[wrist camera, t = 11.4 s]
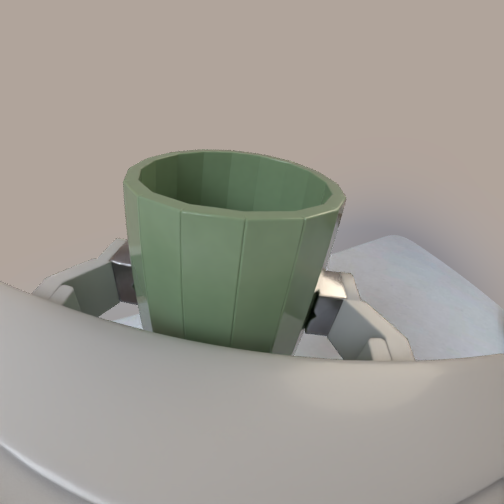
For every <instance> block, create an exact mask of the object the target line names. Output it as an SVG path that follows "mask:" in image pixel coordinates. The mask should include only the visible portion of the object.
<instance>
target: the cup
mask: <svg viewBox="0 0 504 504" xmlns="http://www.w3.org/2000/svg"><path fill="white" fill-rule="evenodd" d="M123 187H124V204H125V217H126V227H127V236H128V245H129V253H130V261H131V268H132V274H133V280H134V286H135V292H136V298H137V303H138V308H139V313H140V318H141V323H142V327H143V330H146V331H150V332H154V333H159V334H163V335H167V336H172V337H177V338H181V339H186V340H191V341H196V342H201V343H207V344H212V345H218V346H224V347H230V348H236V349H243V350H250V351H257V352H264V353H272V354H281V355H290V356H294V355H295V352H296V350H297V347H298V345H299V342H300V340H301V337H302V334H303V332H304V329H305V326H306V324H307V321H308V318H309V316H310V313H311V310H312V307H313V304H314V302H315V299H316V296H317V293H318V290H319V287H320V284H321V281H322V278H323V275H324V272H325V269H326V266H327V263H328V260H329V257H330V254H331V250H332V247H333V244H334V241H335V237H336V234H337V230H338V227H339V224H340V220H341V216H342V213H343V209H344V205H345V202H346V196H345V194H344V193H343V191H342V190H341V188H340V187H339V185H338V184H336V183H335V182H334V181H332V180H331V179H329V178H328V177H326V176H324V175H323V174H321V173H319V172H317V171H316V170H313V169H310V168H308V167H305V166H303V165H300V164H298V163H295V162H292V161H288V160H284V159H280V158H276V157H272V156H268V155H262V154H256V153H249V152H242V151H234V150H233V151H231V150H189V151H178V152H170V153H167V154H162V155H158V156H154V157H150V158H147V159H145V160H143V161H141V162H139V163H137V164H136V165H134V166H132V167H130V168H129V169H128V171H127V174H126V176H125V179H124V181H123Z"/></svg>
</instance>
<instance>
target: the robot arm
mask: <svg viewBox="0 0 504 504" xmlns="http://www.w3.org/2000/svg"><path fill="white" fill-rule="evenodd" d="M120 301H121V302H126V303H130V304H136V305H138V303H137V298H136V292H135V286H134V280H133V274H132V268H131V261H130V253H129V245H128V239H121V238H116V239H115V240H114V241H113V242H112V243H111V244H110V245H109V246H108V247H107V248H106V250H105V251H104V252H103V253H102V254H101V255H100V256H99V257H98V258H97V259H96V258H93V259H90V260H88V261H86V262H83V263H81V264H78V265H76V266H73V267H71V268H68V269H66V270H63V271H61V272H59V273H56V274H54V275H51V276H49V277H47V278H45V279H44V280H43V282H42V283H41V284H40V285H39V286H38V287H37V288H36V289H35V291H34V292H33V293H32V294H30V293H27V292H25V291H22V290H20V289H18V288H15V287H13V286H11V285H8V284H6V283H4V282H1V281H0V504H504V354H493V355H486V356H477V357H467V358H456V359H441V360H418V361H415V358H414V356H413V353H412V350H411V347H410V345H409V342H408V339H407V338H406V337H405V336H404V335H403V334H402V333H400V332H399V331H398V330H397V329H396V328H395V327H394V326H393V325H391V324H390V323H389V322H388V321H387V320H386V319H385V318H383V317H382V316H381V315H380V314H379V313H378V312H377V311H375V310H374V309H373V308H372V307H371V306H370V305H369V304H367V303H366V302H365V301H361V298H360V295H359V292H358V289H357V286H356V284H355V281H354V278H353V275H352V274H351V273H341V272H332V271H325V272H324V275H323V278H322V281H321V284H320V287H319V290H318V293H317V296H316V299H315V302H314V304H313V307H312V310H311V313H310V316H309V318H308V321H307V324H306V326H305V333H306V334H314V335H322V336H327V338H328V339H329V340H330V342H331V343H332V345H333V346H334V347H335V349H336V350H337V351H338V353H339V354H340V355H341V357H342V358H343V360H339V359H324V358H311V357H300V356H290V355H281V354H272V353H264V352H257V351H250V350H243V349H236V348H230V347H224V346H218V345H212V344H207V343H201V342H196V341H191V340H186V339H181V338H177V337H172V336H167V335H163V334H159V333H154V332H150V331H146V330H142V329H138V328H134V327H130V326H127V325H123V324H119V323H116V322H112V321H109V320H105V319H102V318H99V316H100V315H102V314H103V313H105V312H106V311H107V310H109V309H111V308H112V307H114V306H115V305H117V304H118V303H119V302H120Z"/></svg>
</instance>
